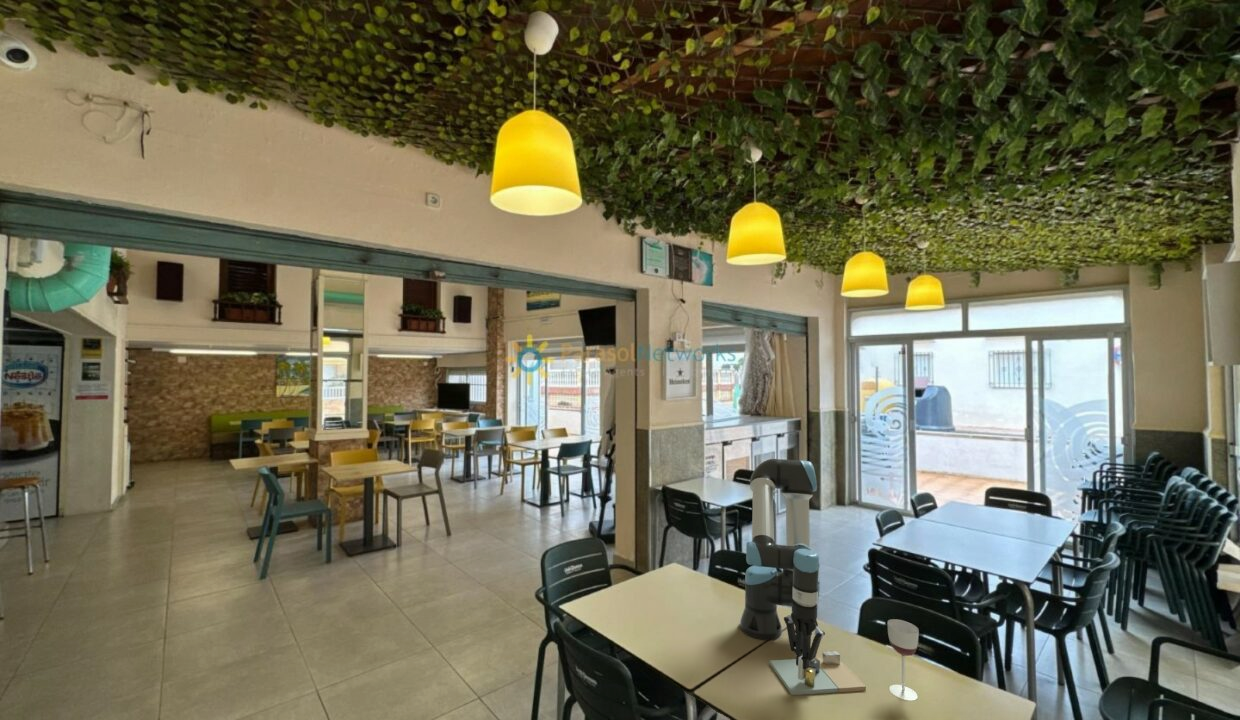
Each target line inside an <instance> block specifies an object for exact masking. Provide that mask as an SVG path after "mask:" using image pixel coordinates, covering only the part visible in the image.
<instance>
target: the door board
mask: <svg viewBox="0 0 1240 720" xmlns="http://www.w3.org/2000/svg"><path fill="white" fill-rule="evenodd" d="M816 658H817V659H818V660H819V661H820V672H818V673H816V676H815V686H814V687H809V686H807V685H805V678H804V679H803V680H800V679H798V666H797V665H796V658H795V659H794V658H793V659H792V658H791V659H777V660H774V659H773V660H769V665H770V666H771V668H772V670H773V671H774V672H775V674H776V675H777V677H778V678H779V680H781V682H782V683H783V685H784V687H785V688H786V689H787V691H788V692H789V693H790V695H791V696H801V695H816V694H831V693H847V692H861V691H867V686H866V685H865V684H864V683H863V682H862V681H861V680H860V678H859V677H858V676H856V675H855V673H853V671H852V670H851V669H850V668H848V667H847V665H846V664H845V663H844V662H843V661H842V660H841V659H840V664H839V665H825V664H824V663H823V657H816Z"/></svg>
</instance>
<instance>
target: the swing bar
mask: <svg viewBox="0 0 1240 720" xmlns="http://www.w3.org/2000/svg"><path fill="white" fill-rule="evenodd" d="M817 658H818V657H815V658H814V659H812V660H811V661H810V660H809V668H808V669H807V670H805V685H807V686H809V687H814V686H815V676H816V673H818V672H820V661H819V660H818V659H817Z"/></svg>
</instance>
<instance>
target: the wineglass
mask: <svg viewBox="0 0 1240 720" xmlns="http://www.w3.org/2000/svg"><path fill="white" fill-rule="evenodd" d="M887 634H888V640H889V643H890V645H891V647H892V648H893V650H894V651H895V652H897V653H898V654H900V656H901V684H892V685H890V686H889V687H888V688H889V689H888V690H889V691H890V693H891V694H893V696H895V697H896V698H899V699H902V700H904V701H910V702H911V701H915V700H917V699H918V694H917V692H916V691H914V689H912V688H910V687H908V686H906V685H905V684H906V683H905V678H906V677H905V675H906V673H905V671H906V670H905V667H906V666H905V663H906V662H905V661H906V659H905V656H906V657H907V656H912V655H914V654H915V653H916V652H917V649H918V645H919V636H920V635H919V634H920V632H919V627H917V626H916V625H915V624H913V623H910V622H908V621H906V620H903V619H897V618H896V619H893V618H892V619H888V620H887Z"/></svg>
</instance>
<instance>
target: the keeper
mask: <svg viewBox="0 0 1240 720" xmlns="http://www.w3.org/2000/svg"><path fill="white" fill-rule="evenodd" d="M822 658H823V663H824V664H825V665H839V664H840V660H841V654H840V653H839V652H838V651H837V650H836V651H823V652H822Z"/></svg>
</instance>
